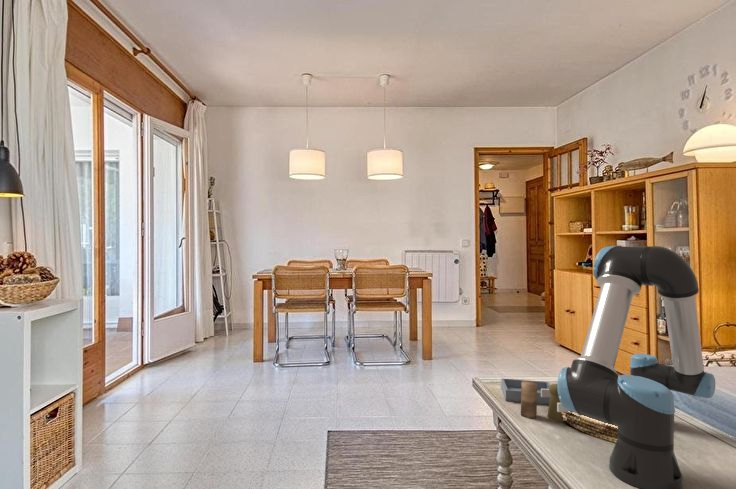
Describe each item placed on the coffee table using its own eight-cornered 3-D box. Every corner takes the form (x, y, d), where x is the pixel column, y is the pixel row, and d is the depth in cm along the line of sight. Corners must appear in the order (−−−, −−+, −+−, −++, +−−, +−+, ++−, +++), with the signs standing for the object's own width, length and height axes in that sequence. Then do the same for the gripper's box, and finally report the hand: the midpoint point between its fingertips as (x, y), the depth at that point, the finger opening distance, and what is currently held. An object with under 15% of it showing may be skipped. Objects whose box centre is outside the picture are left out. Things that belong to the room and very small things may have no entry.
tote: (557, 405, 152) (557, 394, 152) (505, 400, 155) (505, 390, 155) (548, 391, 166) (548, 381, 166) (501, 388, 170) (501, 378, 170)
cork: (544, 418, 140) (545, 384, 140) (551, 413, 144) (551, 381, 145) (563, 423, 136) (564, 389, 136) (569, 418, 140) (570, 385, 140)
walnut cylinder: (538, 419, 139) (538, 385, 139) (522, 417, 140) (522, 384, 140) (535, 413, 144) (535, 381, 144) (519, 411, 145) (520, 379, 145)
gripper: (636, 428, 127) (565, 426, 128) (594, 399, 152) (535, 397, 153) (636, 404, 127) (565, 401, 128) (594, 378, 152) (535, 377, 153)
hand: (548, 399), depth 140 cm, fingers open, 13 cm apart
